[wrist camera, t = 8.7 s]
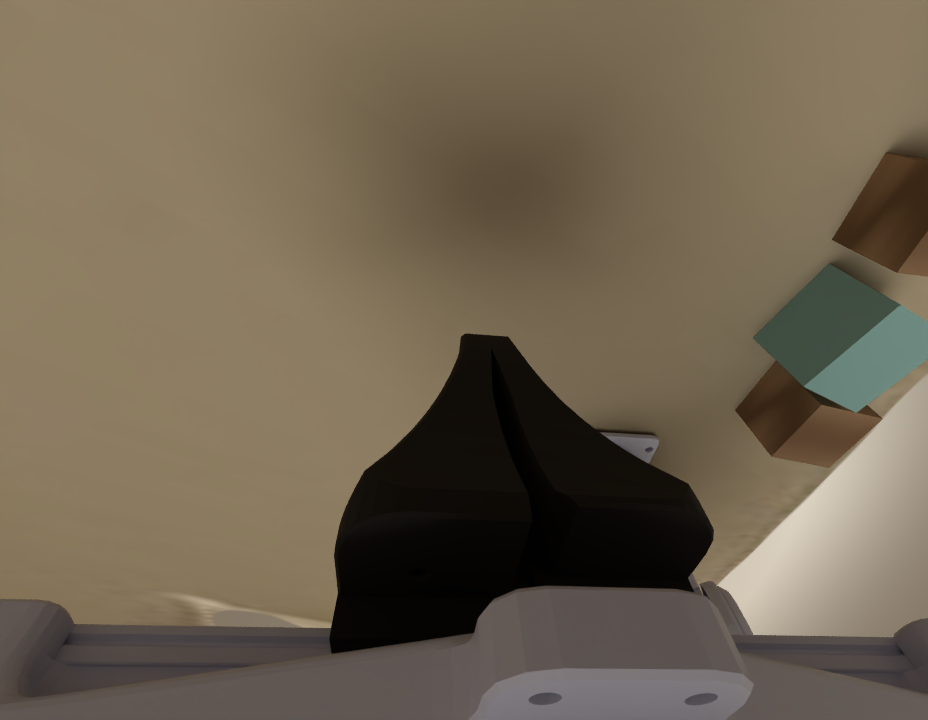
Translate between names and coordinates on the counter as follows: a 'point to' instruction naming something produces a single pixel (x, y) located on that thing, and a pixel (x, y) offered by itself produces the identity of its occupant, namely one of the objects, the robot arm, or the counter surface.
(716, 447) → the counter surface
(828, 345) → the teal block
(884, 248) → the brown cube
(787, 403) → the reddish brown cubic block
